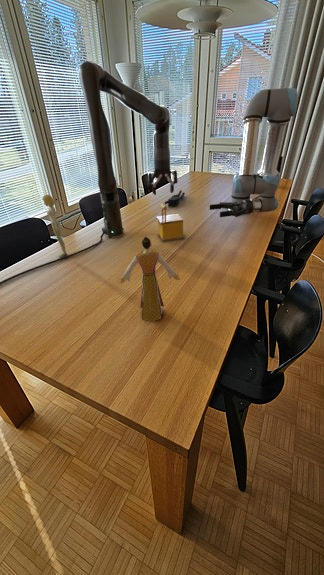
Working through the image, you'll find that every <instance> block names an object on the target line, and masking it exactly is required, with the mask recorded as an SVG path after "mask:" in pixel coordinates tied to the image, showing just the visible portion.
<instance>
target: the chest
mask: <svg viewBox="0 0 324 575" xmlns="http://www.w3.org/2000/svg"><path fill="white" fill-rule="evenodd" d="M157 228H158V230H157V231H158V236H159V238H160V240H161V241H162V242H171V241H177V240H182V239H183V240H184V221H183V222H177V223H170V224H163V225H161V224H160V223H159V221H158V220H157Z"/></svg>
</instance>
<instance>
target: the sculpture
mask: <svg viewBox="0 0 324 575" xmlns="http://www.w3.org/2000/svg"><path fill="white" fill-rule="evenodd" d="M41 200H42V201H43V205H44V206H45V207H49V208H48V210H47V211H46V214H47V216H48V217H49V220H50V224H51V227H52V231H53V233H54V235H55V237H56V240H57V242H58V243H59V246H60V248H61V250H62V252H63V253H62V254H60V255H59V258H62V257H65V256H68V255H69V254H68V253H67V251H66V244H65V240H63V238H62V237H61V226H60V225H61V223H60V221H59V220H58V218H57V216H56V208H55V206H54V205H55V199H54V198H53V197H52V195H51V194H45V195H43V196H42V198H41Z"/></svg>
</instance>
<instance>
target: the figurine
mask: <svg viewBox="0 0 324 575" xmlns="http://www.w3.org/2000/svg"><path fill="white" fill-rule="evenodd" d="M141 240H142V241H141V244H140V245H141V247H142V248H143V249H144V251H139V252H136V253H135V256H134V257H133V258H132V260H131V262H130V263H129V265H128V267H127V268H126V270H125V271H124V273H123V274H122V276H121V277H120V278H118V280H119V284H124V283H125V281H127V282H131V274H132V271H133V269H134V268H135V267H136V266H137V264H138V265H139V266H140V269H141V271H142V276H141V297H140V309H141V310H142V312H141V319H142V320H143V321H147V322H154V321H159V320H162V319H163V315H162V314H163V309H162V307H163V308H164V306H165V305H164V302H163V298H162V294H161V291H160V286H159V281H158V278H157V277H158V276H157V274H156V267H157V264H158V263H159V264H160V265H162V266H163V267H164V269H165V270H166V273H167V277H168V280H171V279H172V278H173V279H174V280H175V281H179V280H181V278H180V275H179V274H177V272H175V271H174V270H173V268H172V267H171V265H169V263H168V262H166V260H165V259H164V258H163V257H162V255H161V254H160V252H159V251H156V250H152V251H151V250H150V249H151V247H152V242H151V239H150V238H148V237H147V236H144V237H143V238H142V239H141Z"/></svg>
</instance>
